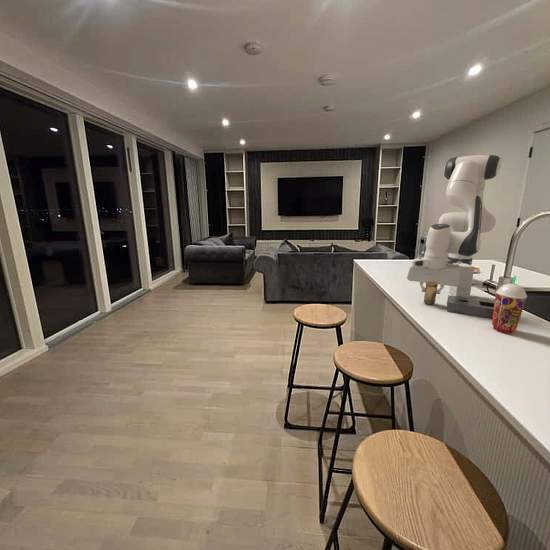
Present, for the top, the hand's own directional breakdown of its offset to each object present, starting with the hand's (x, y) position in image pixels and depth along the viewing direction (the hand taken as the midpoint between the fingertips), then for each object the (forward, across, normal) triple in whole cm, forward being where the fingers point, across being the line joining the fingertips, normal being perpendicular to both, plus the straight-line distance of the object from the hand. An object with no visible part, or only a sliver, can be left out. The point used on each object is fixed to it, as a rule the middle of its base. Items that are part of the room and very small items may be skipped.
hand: (430, 292), depth 125 cm
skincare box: (+6, -12, -20) cm, 24 cm away
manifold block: (+5, -17, +1) cm, 18 cm away
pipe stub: (+5, 0, 0) cm, 5 cm away
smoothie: (+5, -24, +17) cm, 30 cm away
